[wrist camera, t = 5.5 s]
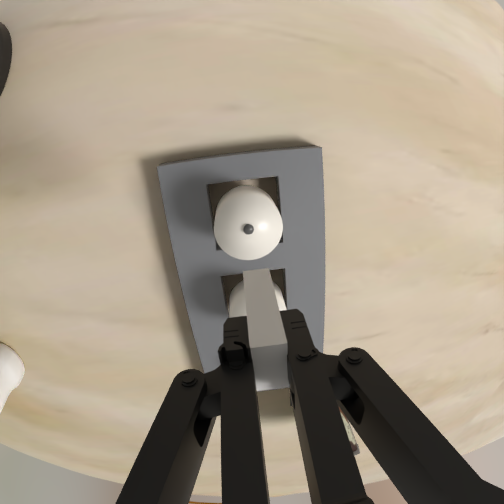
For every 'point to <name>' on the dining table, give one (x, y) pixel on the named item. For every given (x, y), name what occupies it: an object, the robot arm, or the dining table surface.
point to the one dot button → (247, 223)
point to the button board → (221, 264)
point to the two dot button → (239, 305)
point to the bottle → (9, 372)
